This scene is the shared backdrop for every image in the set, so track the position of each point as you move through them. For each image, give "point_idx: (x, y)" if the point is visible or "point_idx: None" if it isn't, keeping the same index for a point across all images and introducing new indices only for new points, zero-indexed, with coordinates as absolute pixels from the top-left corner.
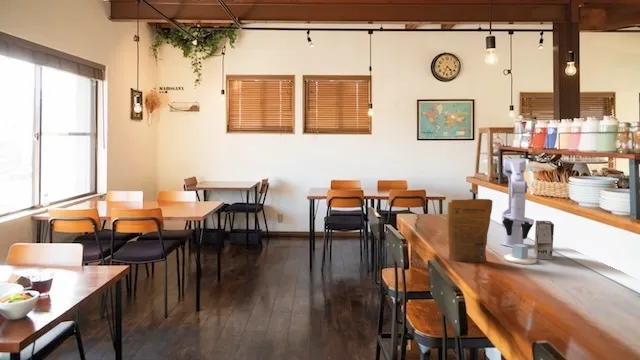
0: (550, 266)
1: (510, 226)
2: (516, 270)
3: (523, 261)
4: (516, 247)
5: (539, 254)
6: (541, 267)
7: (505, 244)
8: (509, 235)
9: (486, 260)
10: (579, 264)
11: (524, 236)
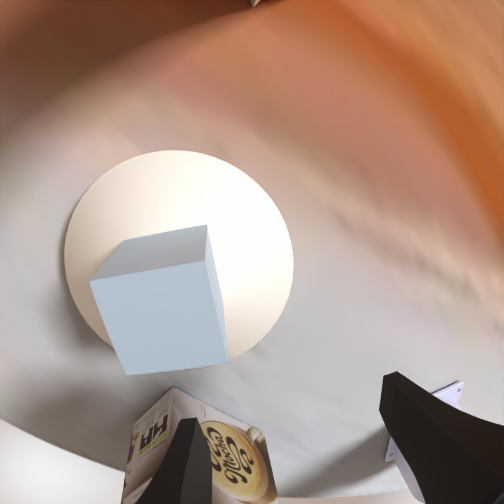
0: (26, 327)
1: (429, 474)
2: (11, 66)
3: (76, 213)
4: (154, 263)
5: (163, 411)
6: (13, 265)
7: (440, 395)
8: (382, 389)
9: (251, 2)
10: (58, 446)
11: (174, 446)
